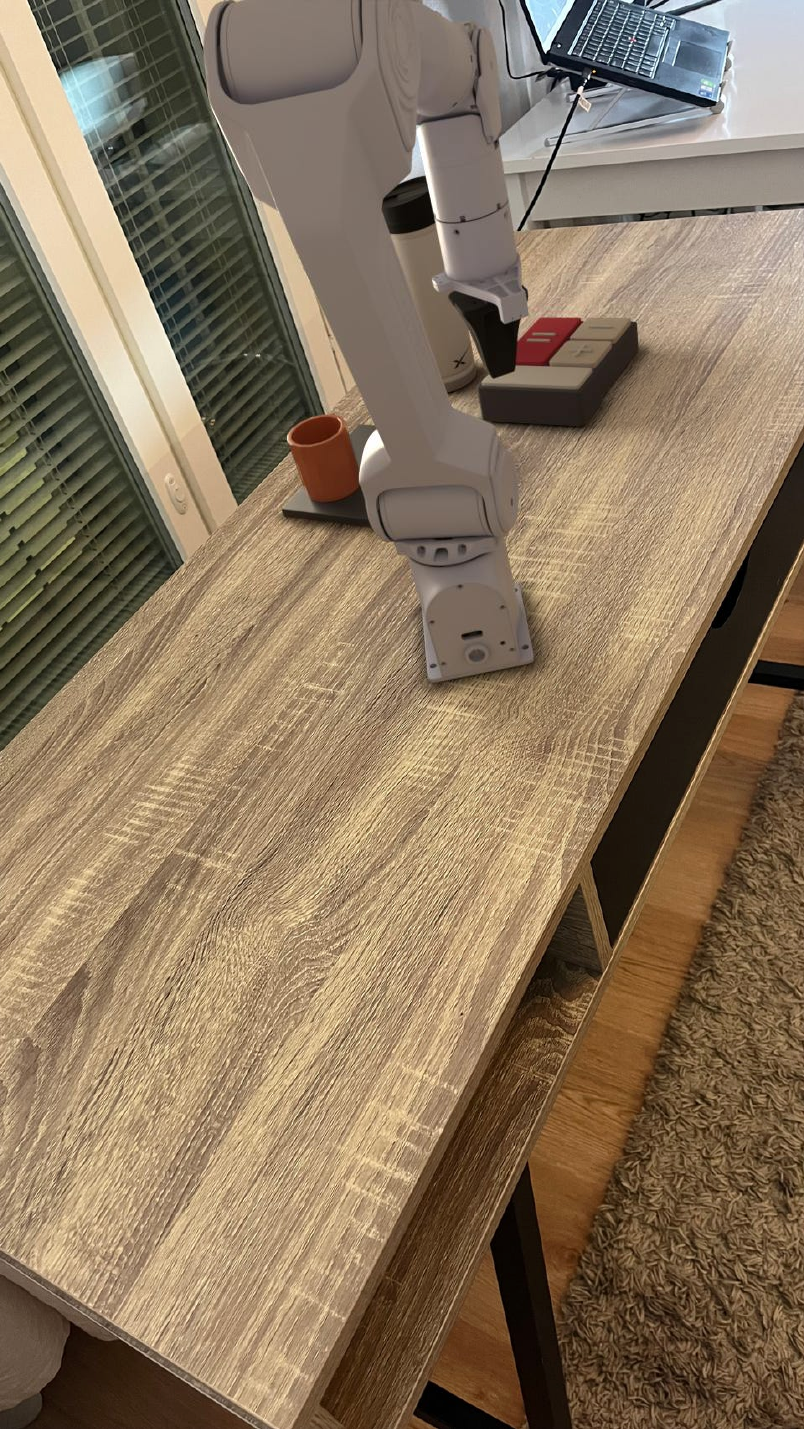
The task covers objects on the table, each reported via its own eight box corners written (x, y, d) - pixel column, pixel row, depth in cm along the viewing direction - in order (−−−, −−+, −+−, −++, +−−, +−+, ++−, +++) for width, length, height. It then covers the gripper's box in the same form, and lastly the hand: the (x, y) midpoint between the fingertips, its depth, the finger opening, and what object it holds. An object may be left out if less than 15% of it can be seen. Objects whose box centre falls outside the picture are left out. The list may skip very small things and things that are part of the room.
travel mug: (481, 386, 111) (441, 187, 98) (419, 399, 112) (371, 204, 99) (479, 359, 116) (440, 164, 102) (419, 371, 117) (373, 181, 103)
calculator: (638, 313, 107) (580, 384, 98) (640, 354, 109) (585, 427, 100) (536, 313, 112) (473, 380, 103) (541, 352, 115) (480, 421, 106)
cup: (362, 494, 100) (345, 438, 96) (305, 507, 101) (286, 452, 97) (361, 464, 104) (345, 409, 100) (307, 477, 105) (288, 422, 101)
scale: (388, 529, 96) (381, 506, 95) (283, 517, 102) (275, 495, 100) (461, 438, 105) (456, 415, 103) (360, 431, 110) (354, 410, 109)
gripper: (396, 199, 86) (432, 355, 96) (449, 254, 76) (484, 424, 85) (478, 170, 87) (506, 329, 96) (543, 221, 76) (567, 394, 85)
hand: (501, 372), depth 90 cm, fingers closed
